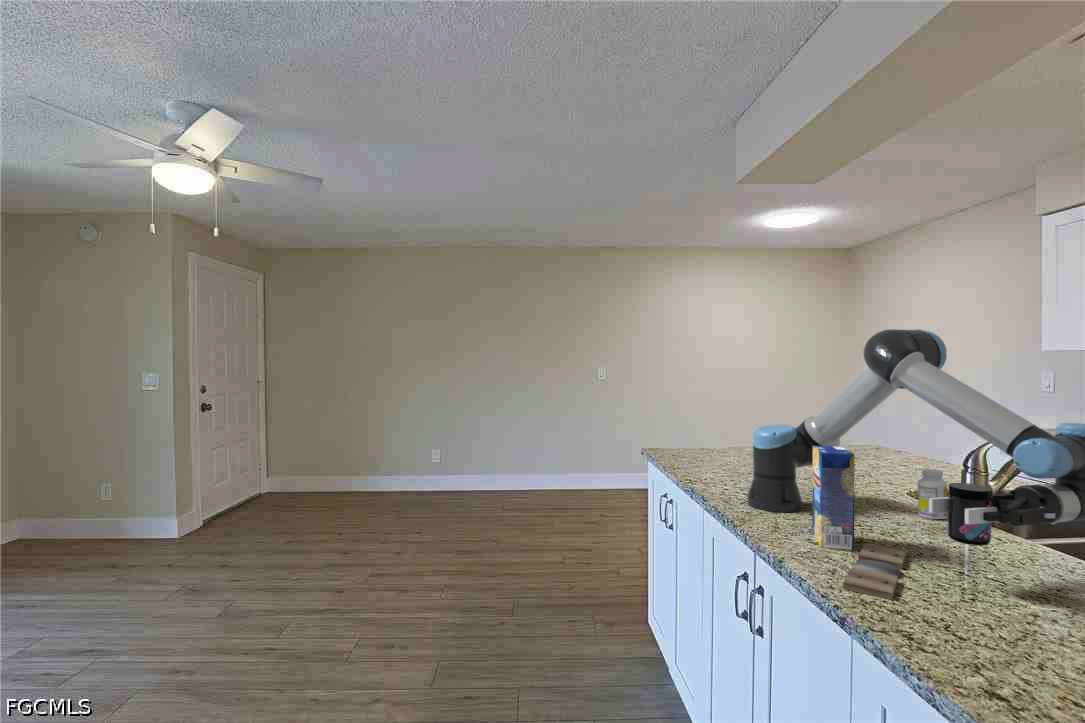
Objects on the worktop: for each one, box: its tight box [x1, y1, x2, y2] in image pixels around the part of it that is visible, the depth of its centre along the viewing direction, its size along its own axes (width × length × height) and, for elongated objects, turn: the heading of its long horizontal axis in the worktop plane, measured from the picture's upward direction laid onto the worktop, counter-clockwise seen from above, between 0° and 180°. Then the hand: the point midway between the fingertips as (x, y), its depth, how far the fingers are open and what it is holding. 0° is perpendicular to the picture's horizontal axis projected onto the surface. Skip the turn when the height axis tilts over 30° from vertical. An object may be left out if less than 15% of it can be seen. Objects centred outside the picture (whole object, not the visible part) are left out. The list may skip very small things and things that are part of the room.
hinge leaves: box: [842, 542, 907, 601], centre depth 116 cm, size 28×8×1 cm, turn 143°
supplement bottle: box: [917, 468, 948, 520], centre depth 153 cm, size 7×7×13 cm
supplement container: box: [947, 482, 993, 547], centre depth 108 cm, size 7×7×10 cm
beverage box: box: [812, 446, 855, 551], centre depth 134 cm, size 7×11×22 cm, turn 164°
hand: (948, 510), depth 107 cm, fingers closed on supplement container, 7 cm apart
